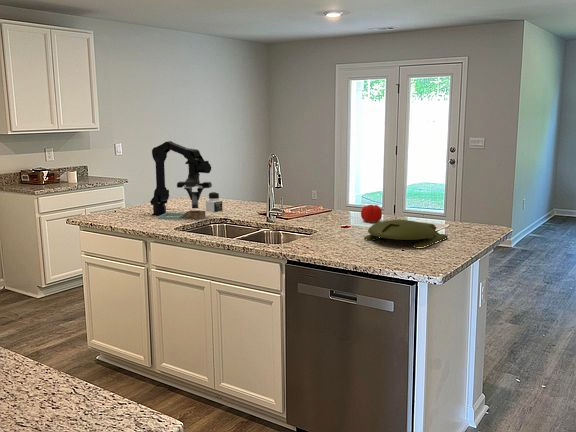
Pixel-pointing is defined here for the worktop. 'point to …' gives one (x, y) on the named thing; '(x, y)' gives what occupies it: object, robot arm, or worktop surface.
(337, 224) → the worktop surface
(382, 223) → the olive green domed shape
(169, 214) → the tray
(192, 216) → the socket block
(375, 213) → the tomato
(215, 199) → the medicine bottle
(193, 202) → the stop pin
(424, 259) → the worktop surface
